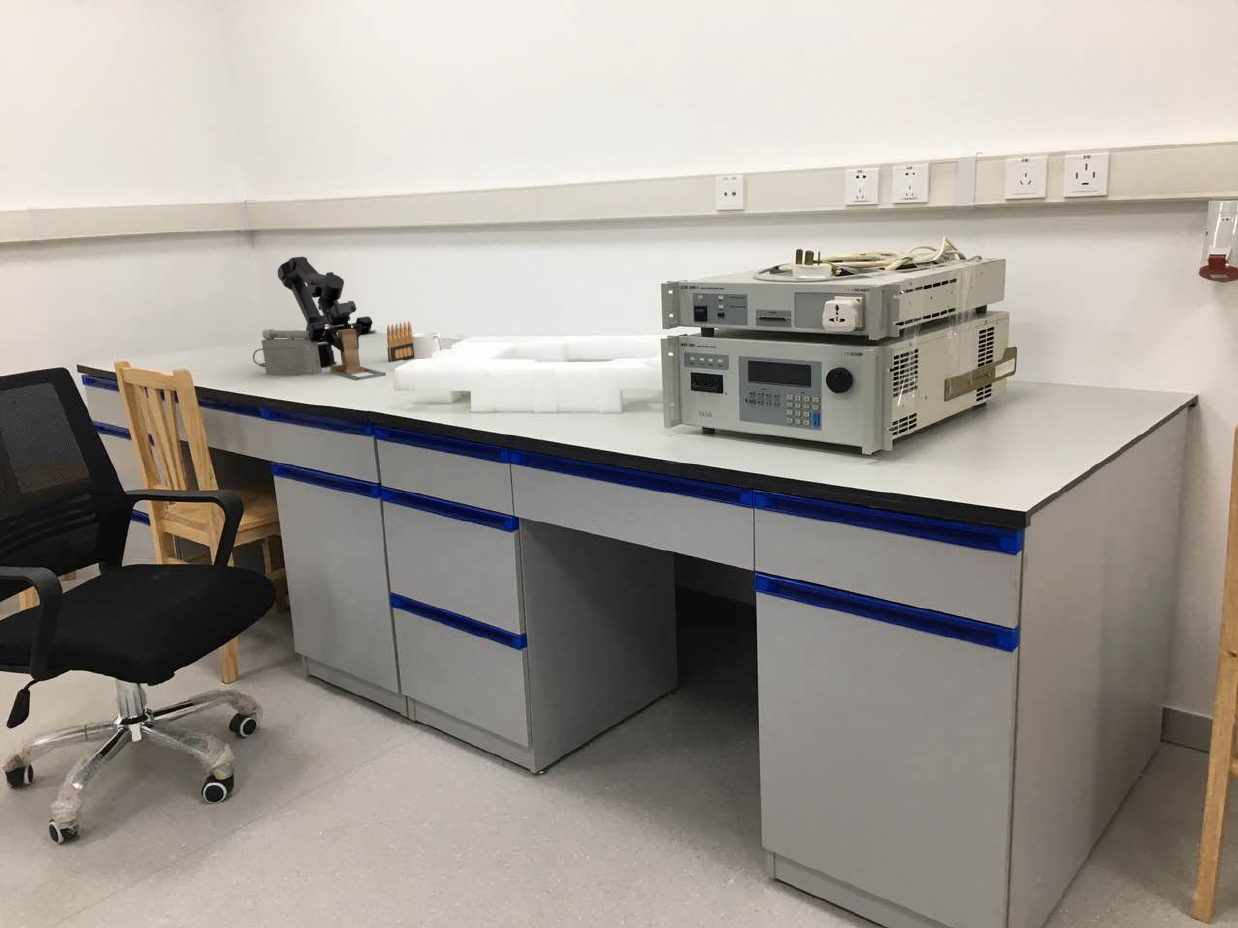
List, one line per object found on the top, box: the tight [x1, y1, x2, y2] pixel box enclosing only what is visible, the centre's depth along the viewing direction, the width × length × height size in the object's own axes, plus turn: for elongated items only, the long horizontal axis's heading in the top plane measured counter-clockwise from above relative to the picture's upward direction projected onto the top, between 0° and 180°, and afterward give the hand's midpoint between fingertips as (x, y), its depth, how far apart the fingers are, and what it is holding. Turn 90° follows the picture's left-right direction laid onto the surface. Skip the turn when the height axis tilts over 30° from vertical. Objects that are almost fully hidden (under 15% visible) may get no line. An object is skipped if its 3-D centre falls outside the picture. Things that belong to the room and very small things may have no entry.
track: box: [329, 363, 387, 381], centre depth 300 cm, size 21×9×2 cm, turn 36°
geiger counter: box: [252, 328, 323, 377], centre depth 309 cm, size 14×6×25 cm
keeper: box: [337, 329, 366, 375], centre depth 302 cm, size 6×6×13 cm
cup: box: [412, 332, 443, 360], centre depth 305 cm, size 8×12×10 cm
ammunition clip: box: [386, 321, 415, 363], centre depth 322 cm, size 11×2×12 cm, turn 145°
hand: (350, 350), depth 301 cm, fingers closed on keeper, 4 cm apart
